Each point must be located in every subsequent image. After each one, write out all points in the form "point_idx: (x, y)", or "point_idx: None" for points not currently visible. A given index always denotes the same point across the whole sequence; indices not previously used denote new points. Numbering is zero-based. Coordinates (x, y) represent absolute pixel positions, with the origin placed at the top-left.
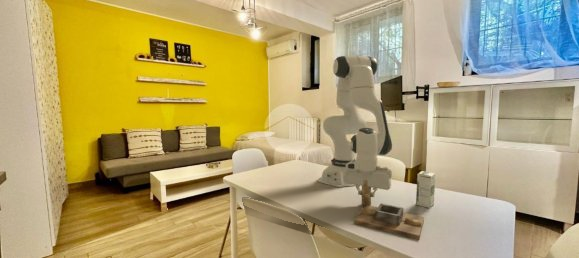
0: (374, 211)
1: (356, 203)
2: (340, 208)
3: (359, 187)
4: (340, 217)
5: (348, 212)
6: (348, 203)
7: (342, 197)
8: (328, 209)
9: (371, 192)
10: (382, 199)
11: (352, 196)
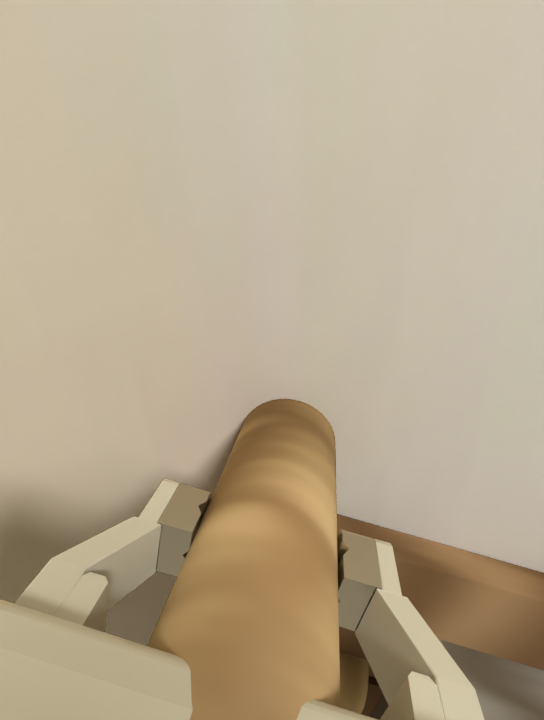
0: (361, 710)
1: (188, 411)
2: (92, 532)
3: (115, 552)
4: (139, 642)
5: (166, 582)
6: (117, 428)
7: (6, 281)
8: (26, 558)
9: (345, 596)
10: (519, 179)
11: (94, 202)
